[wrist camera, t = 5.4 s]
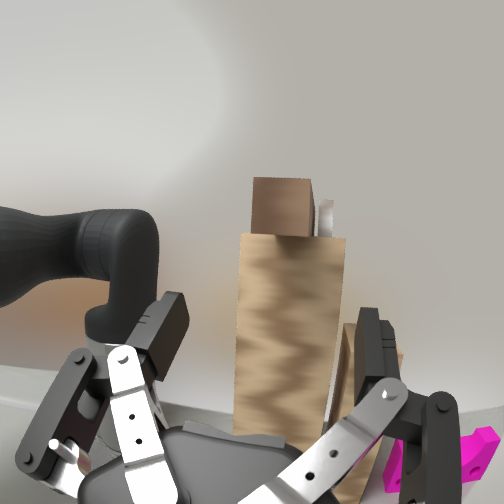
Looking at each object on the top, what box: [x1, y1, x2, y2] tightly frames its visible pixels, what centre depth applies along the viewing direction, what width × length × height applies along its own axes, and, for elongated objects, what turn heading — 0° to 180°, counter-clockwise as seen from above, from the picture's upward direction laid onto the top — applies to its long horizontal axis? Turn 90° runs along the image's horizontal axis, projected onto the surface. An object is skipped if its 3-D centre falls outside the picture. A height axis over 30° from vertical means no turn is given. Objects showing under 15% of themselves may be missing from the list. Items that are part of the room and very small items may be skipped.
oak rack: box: [233, 199, 403, 504], centre depth 32 cm, size 16×10×34 cm, turn 78°
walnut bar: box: [251, 177, 315, 237], centre depth 29 cm, size 3×24×3 cm, turn 168°
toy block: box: [382, 426, 501, 493], centre depth 29 cm, size 15×6×8 cm, turn 78°
